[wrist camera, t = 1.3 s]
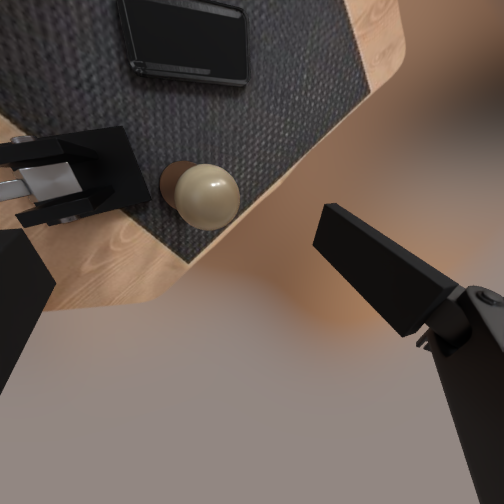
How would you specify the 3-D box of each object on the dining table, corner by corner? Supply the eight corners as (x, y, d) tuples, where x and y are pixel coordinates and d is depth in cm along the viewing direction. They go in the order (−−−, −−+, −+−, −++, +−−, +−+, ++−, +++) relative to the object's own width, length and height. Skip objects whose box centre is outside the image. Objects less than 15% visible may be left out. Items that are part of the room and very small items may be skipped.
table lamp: (151, 166, 30) (157, 167, 15) (200, 156, 32) (246, 148, 17) (169, 215, 33) (188, 254, 18) (213, 203, 35) (261, 229, 20)
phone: (111, -24, 22) (248, 9, 27) (113, -16, 23) (245, 14, 28) (131, 73, 25) (251, 85, 30) (132, 76, 26) (248, 88, 31)
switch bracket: (52, 223, 27) (-25, 272, 15) (3, 145, 23) (-160, 121, 11) (151, 198, 31) (155, 220, 18) (123, 127, 27) (105, 93, 14)
